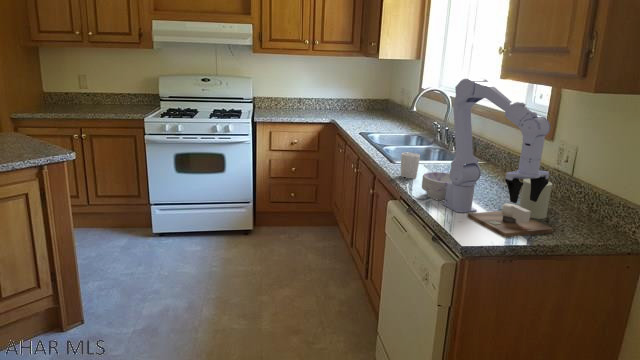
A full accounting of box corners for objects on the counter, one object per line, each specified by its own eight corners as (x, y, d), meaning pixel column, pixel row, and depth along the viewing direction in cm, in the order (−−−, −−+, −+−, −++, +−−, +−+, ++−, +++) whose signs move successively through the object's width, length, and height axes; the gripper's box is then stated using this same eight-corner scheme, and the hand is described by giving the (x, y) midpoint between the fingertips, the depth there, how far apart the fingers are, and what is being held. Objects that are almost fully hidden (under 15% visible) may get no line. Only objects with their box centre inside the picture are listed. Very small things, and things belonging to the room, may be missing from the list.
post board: (467, 216, 156) (468, 208, 155) (511, 213, 162) (512, 205, 161) (504, 237, 140) (506, 227, 139) (552, 232, 146) (554, 223, 145)
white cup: (421, 178, 203) (423, 155, 200) (405, 179, 200) (407, 156, 197) (411, 174, 210) (413, 152, 207) (395, 175, 207) (397, 152, 204)
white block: (498, 212, 151) (499, 202, 150) (510, 211, 153) (512, 201, 152) (519, 223, 143) (521, 212, 142) (532, 221, 144) (534, 211, 144)
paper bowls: (452, 206, 167) (455, 184, 165) (413, 196, 176) (415, 176, 174) (468, 197, 178) (471, 177, 176) (431, 189, 187) (433, 169, 185)
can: (538, 210, 167) (544, 177, 164) (551, 219, 158) (558, 184, 155) (513, 209, 167) (518, 176, 164) (524, 218, 158) (530, 183, 155)
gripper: (520, 161, 135) (513, 207, 138) (560, 160, 140) (552, 204, 143) (503, 156, 141) (497, 199, 145) (541, 155, 146) (534, 197, 149)
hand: (523, 201), depth 144 cm, fingers open, 7 cm apart
